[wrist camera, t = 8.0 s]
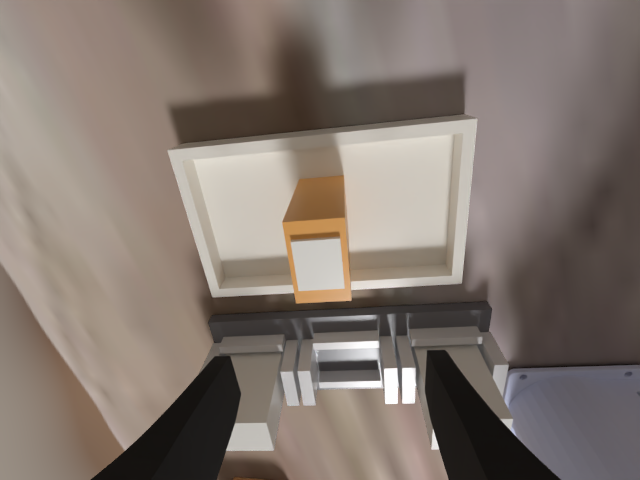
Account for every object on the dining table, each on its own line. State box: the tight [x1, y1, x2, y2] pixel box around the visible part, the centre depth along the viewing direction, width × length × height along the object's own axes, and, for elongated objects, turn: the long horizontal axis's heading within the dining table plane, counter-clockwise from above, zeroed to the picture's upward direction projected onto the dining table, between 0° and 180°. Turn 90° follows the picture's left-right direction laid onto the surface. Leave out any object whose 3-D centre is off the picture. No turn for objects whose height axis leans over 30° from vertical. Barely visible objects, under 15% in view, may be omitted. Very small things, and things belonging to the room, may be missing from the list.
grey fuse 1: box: [225, 350, 285, 451], centre depth 22 cm, size 4×2×6 cm, turn 96°
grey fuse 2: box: [412, 344, 513, 449], centre depth 21 cm, size 4×2×6 cm, turn 96°
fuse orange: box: [282, 175, 352, 303], centre depth 17 cm, size 4×2×6 cm, turn 6°
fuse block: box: [200, 302, 509, 406], centre depth 23 cm, size 19×7×4 cm, turn 96°
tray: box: [167, 114, 477, 297], centre depth 19 cm, size 15×9×2 cm, turn 96°
